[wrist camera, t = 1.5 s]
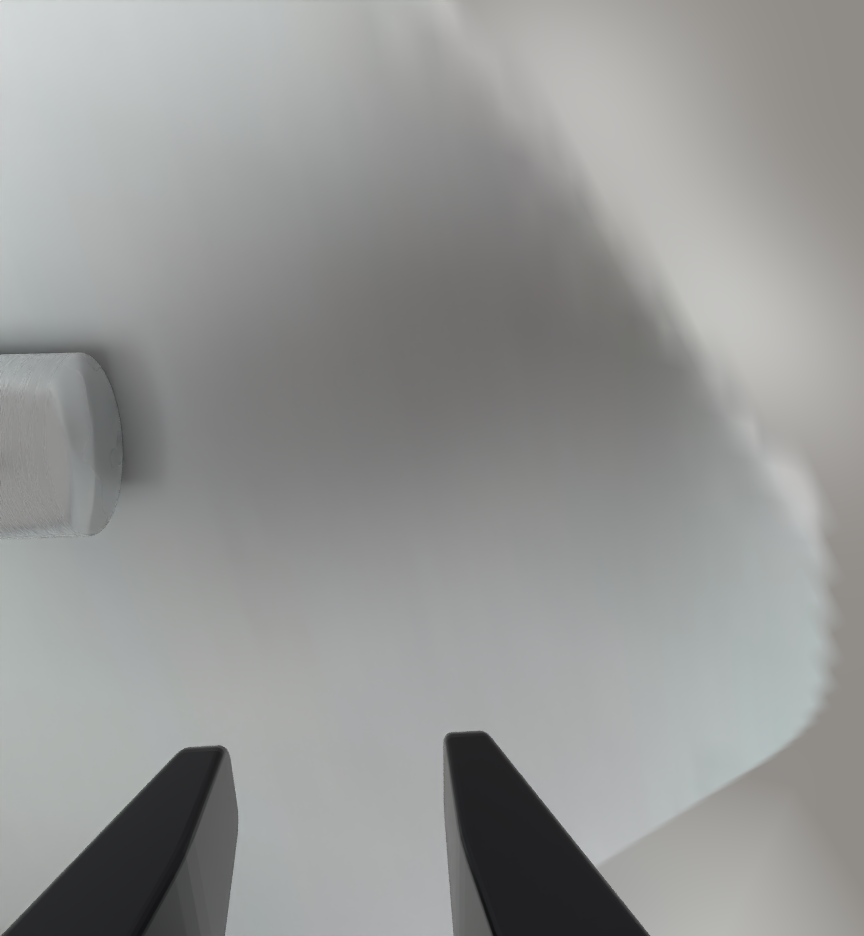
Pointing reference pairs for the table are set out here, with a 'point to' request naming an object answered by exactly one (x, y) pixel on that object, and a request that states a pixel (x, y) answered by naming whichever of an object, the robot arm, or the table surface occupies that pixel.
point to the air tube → (57, 446)
